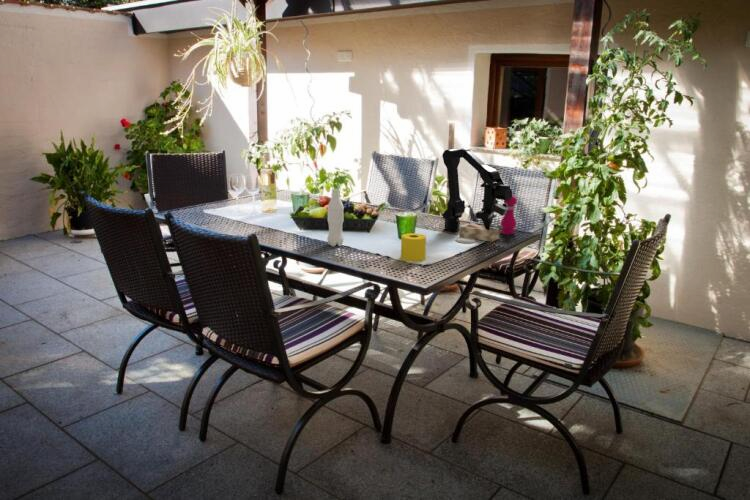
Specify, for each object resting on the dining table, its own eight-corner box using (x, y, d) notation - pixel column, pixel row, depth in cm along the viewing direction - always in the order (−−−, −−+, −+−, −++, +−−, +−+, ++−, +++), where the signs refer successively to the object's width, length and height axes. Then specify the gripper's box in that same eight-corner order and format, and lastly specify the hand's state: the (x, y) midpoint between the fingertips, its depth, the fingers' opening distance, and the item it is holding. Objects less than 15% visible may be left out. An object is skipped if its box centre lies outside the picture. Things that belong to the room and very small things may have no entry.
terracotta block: (467, 228, 288) (469, 224, 287) (471, 227, 292) (472, 222, 291) (484, 236, 285) (486, 231, 284) (487, 234, 288) (489, 230, 287)
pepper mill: (515, 235, 295) (518, 194, 289) (500, 234, 296) (503, 193, 291) (515, 231, 301) (518, 191, 296) (500, 230, 303) (503, 190, 297)
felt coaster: (452, 241, 281) (452, 240, 280) (460, 237, 288) (460, 236, 288) (471, 244, 276) (471, 243, 276) (478, 240, 284) (478, 239, 283)
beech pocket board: (459, 236, 290) (460, 226, 288) (465, 233, 296) (466, 223, 294) (492, 241, 281) (493, 231, 280) (498, 238, 288) (499, 228, 286)
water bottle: (346, 244, 273) (346, 188, 266) (339, 247, 266) (340, 191, 259) (331, 242, 275) (331, 187, 268) (324, 246, 268) (324, 189, 262)
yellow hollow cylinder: (407, 262, 246) (408, 240, 244) (396, 256, 255) (397, 234, 253) (429, 260, 250) (430, 238, 248) (418, 254, 259) (418, 232, 257)
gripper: (499, 202, 270) (497, 237, 274) (513, 196, 285) (510, 229, 289) (475, 199, 275) (473, 233, 279) (490, 194, 291) (488, 225, 295)
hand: (487, 230), depth 286 cm, fingers closed
